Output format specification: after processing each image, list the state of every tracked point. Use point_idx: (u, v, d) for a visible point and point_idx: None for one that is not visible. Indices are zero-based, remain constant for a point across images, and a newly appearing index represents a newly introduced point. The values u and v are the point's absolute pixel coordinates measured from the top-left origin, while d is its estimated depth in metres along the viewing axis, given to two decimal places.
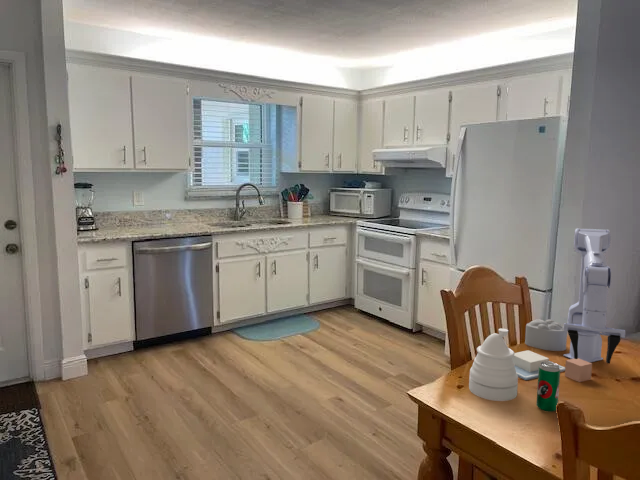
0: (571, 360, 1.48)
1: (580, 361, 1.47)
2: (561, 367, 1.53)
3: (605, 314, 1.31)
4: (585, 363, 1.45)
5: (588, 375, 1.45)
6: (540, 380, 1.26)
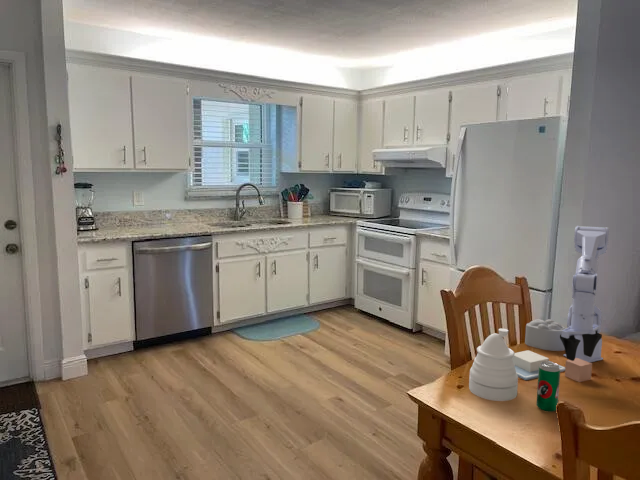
0: None
1: (580, 361, 1.47)
2: (561, 367, 1.53)
3: None
4: (585, 363, 1.45)
5: (588, 375, 1.45)
6: (540, 380, 1.26)
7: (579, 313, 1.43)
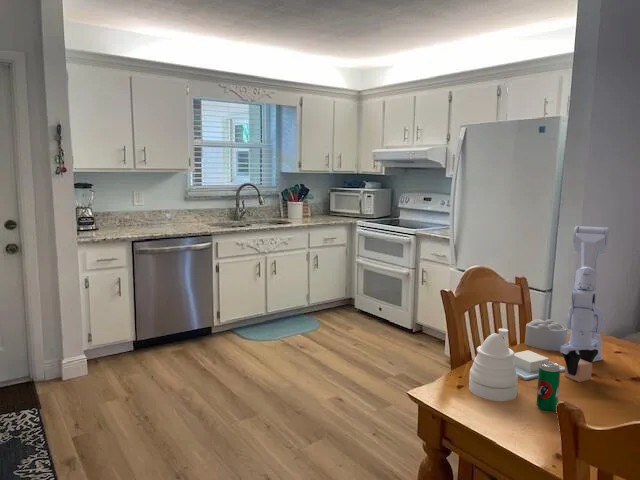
0: None
1: (580, 361, 1.47)
2: (561, 367, 1.53)
3: None
4: (585, 363, 1.45)
5: (588, 374, 1.45)
6: (540, 380, 1.26)
7: (578, 329, 1.43)
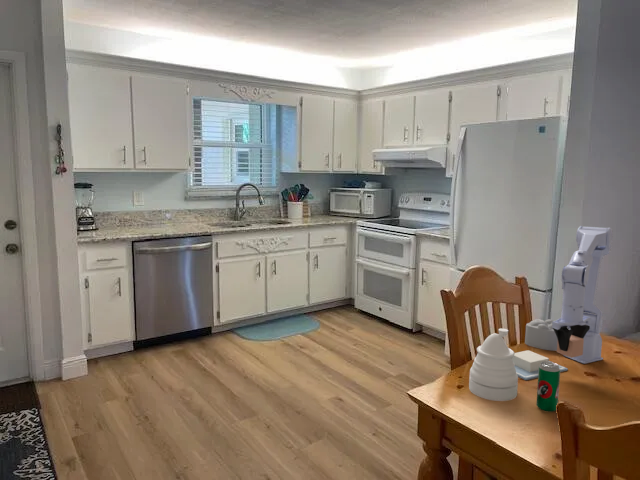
0: None
1: (571, 337, 1.47)
2: (561, 367, 1.53)
3: None
4: (577, 339, 1.46)
5: (580, 350, 1.46)
6: (540, 380, 1.26)
7: (568, 304, 1.44)
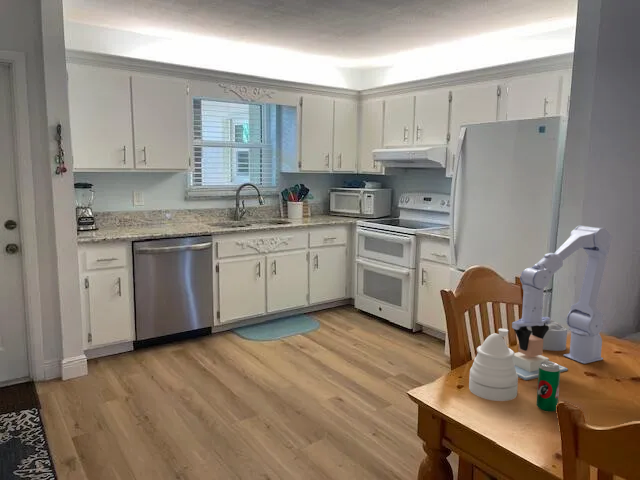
0: None
1: (532, 337, 1.54)
2: (561, 367, 1.53)
3: None
4: (537, 339, 1.52)
5: (539, 350, 1.52)
6: (540, 380, 1.26)
7: (523, 304, 1.52)
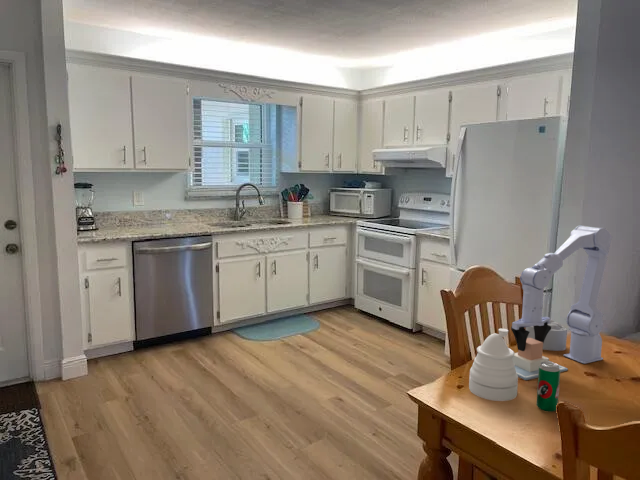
0: None
1: (531, 341, 1.54)
2: (561, 367, 1.53)
3: None
4: (536, 342, 1.53)
5: (539, 353, 1.53)
6: (540, 380, 1.26)
7: (523, 304, 1.52)
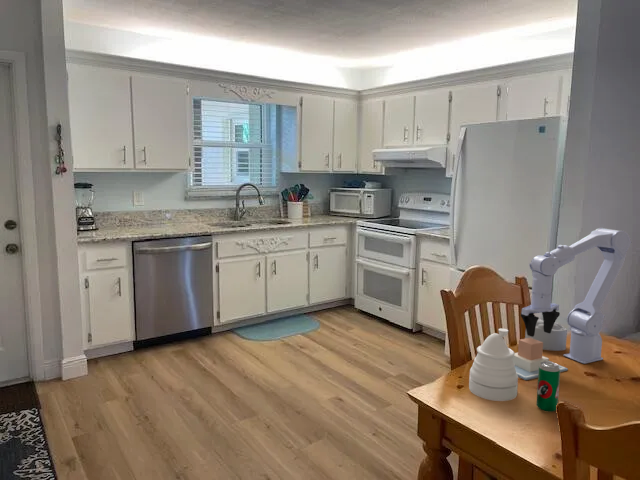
0: (524, 339, 1.55)
1: (531, 341, 1.54)
2: (561, 367, 1.53)
3: None
4: (536, 342, 1.53)
5: (539, 353, 1.53)
6: (540, 380, 1.26)
7: (532, 291, 1.56)
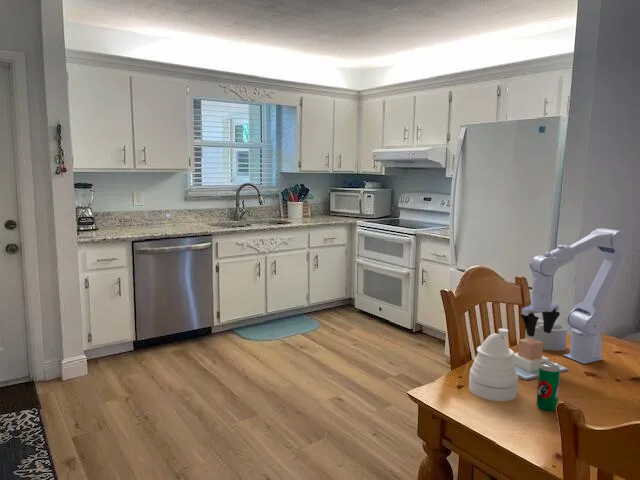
0: (524, 339, 1.55)
1: (531, 341, 1.54)
2: (561, 367, 1.53)
3: None
4: (536, 342, 1.53)
5: (539, 353, 1.53)
6: (540, 380, 1.26)
7: (532, 291, 1.56)
